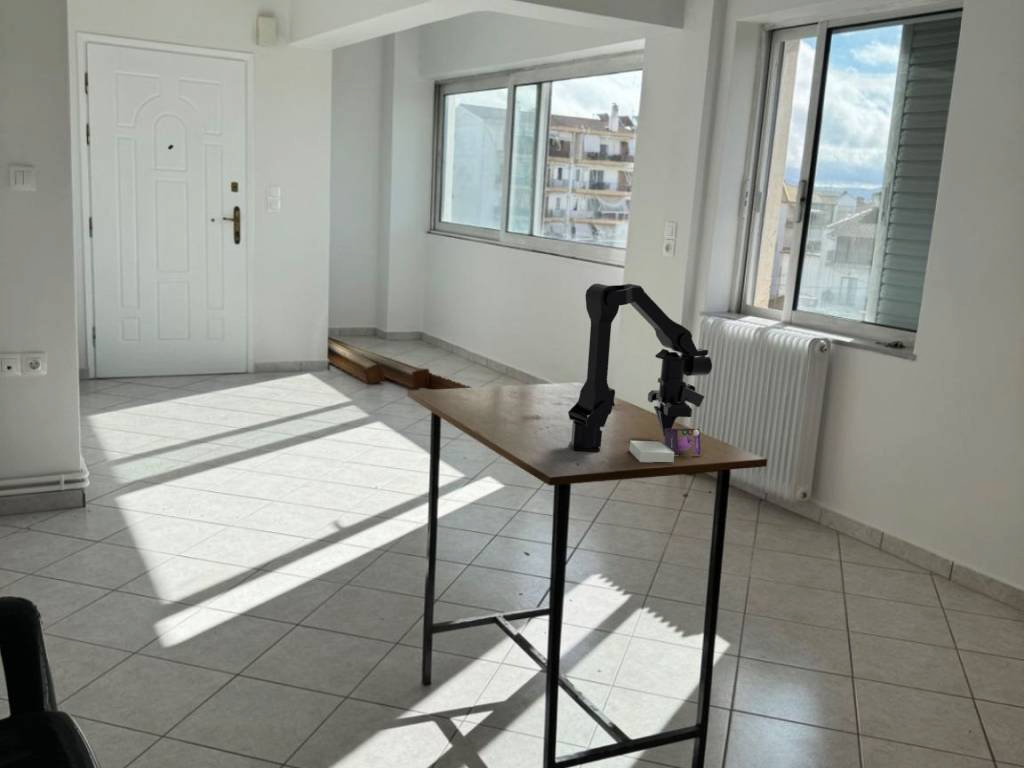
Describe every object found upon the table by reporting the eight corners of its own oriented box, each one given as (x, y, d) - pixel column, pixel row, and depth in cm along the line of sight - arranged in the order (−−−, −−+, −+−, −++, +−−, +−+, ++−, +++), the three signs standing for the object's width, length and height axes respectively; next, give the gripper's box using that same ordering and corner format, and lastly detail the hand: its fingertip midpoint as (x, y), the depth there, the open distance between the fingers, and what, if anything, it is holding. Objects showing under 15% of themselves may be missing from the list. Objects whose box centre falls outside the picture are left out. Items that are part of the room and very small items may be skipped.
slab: (640, 462, 221) (641, 451, 220) (629, 450, 230) (630, 440, 230) (673, 463, 222) (674, 452, 221) (661, 451, 232) (662, 441, 231)
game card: (666, 428, 228) (700, 428, 230) (658, 430, 233) (691, 430, 235) (667, 456, 227) (701, 456, 229) (658, 457, 232) (692, 457, 234)
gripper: (715, 385, 230) (708, 447, 233) (691, 370, 249) (684, 428, 252) (671, 383, 229) (664, 445, 232) (650, 368, 247) (644, 426, 250)
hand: (665, 436), depth 241 cm, fingers closed
